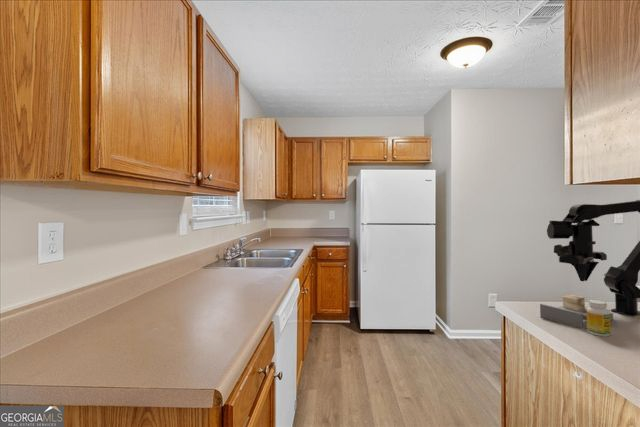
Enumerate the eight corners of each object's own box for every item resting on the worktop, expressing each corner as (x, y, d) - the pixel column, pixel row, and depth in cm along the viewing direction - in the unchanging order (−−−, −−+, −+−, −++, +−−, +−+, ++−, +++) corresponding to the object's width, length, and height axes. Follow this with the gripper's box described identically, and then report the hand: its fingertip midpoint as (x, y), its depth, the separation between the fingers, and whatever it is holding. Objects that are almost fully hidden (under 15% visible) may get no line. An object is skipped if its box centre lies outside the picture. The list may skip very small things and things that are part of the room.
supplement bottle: (590, 328, 99) (589, 298, 99) (613, 333, 94) (612, 301, 94) (584, 332, 96) (583, 301, 96) (607, 338, 91) (606, 305, 91)
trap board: (571, 309, 118) (571, 297, 118) (613, 319, 106) (612, 305, 106) (540, 316, 110) (540, 304, 110) (581, 328, 99) (581, 314, 99)
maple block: (570, 305, 116) (570, 294, 116) (584, 308, 112) (584, 297, 112) (563, 307, 114) (562, 296, 114) (577, 310, 110) (576, 299, 110)
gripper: (572, 235, 126) (574, 274, 126) (543, 238, 119) (544, 279, 119) (606, 237, 116) (608, 279, 116) (576, 240, 109) (578, 285, 109)
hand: (583, 280), depth 115 cm, fingers closed
